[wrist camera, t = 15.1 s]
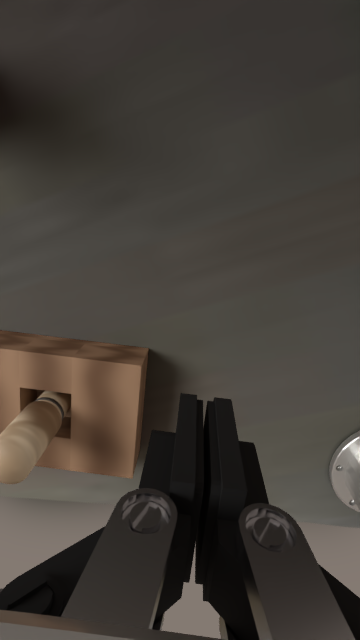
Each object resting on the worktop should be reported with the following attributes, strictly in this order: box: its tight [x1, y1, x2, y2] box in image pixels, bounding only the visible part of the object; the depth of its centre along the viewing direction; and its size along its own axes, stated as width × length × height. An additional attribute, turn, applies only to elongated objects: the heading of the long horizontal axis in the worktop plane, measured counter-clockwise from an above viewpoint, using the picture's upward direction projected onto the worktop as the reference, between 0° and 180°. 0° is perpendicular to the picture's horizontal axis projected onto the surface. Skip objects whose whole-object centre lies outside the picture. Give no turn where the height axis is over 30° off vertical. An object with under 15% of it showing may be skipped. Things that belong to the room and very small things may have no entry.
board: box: [0, 330, 149, 478], centre depth 39 cm, size 20×14×5 cm
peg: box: [0, 391, 71, 484], centre depth 35 cm, size 4×4×12 cm
